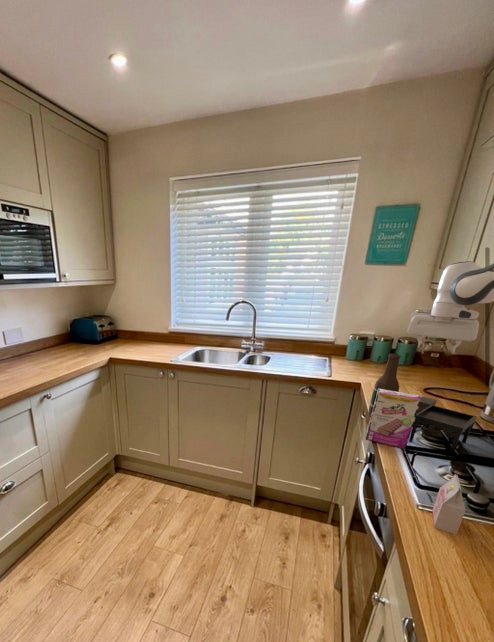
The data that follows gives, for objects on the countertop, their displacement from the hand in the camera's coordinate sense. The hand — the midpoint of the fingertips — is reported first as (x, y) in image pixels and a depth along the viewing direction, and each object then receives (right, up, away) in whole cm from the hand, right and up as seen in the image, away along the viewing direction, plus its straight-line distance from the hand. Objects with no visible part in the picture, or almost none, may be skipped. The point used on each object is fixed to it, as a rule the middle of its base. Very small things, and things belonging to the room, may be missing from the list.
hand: (435, 350), depth 121 cm
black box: (+1, -23, +8) cm, 25 cm away
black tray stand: (-12, -32, -16) cm, 38 cm away
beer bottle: (-20, -25, +2) cm, 32 cm away
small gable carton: (-37, -44, -51) cm, 77 cm away
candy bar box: (-29, -32, -17) cm, 46 cm away
